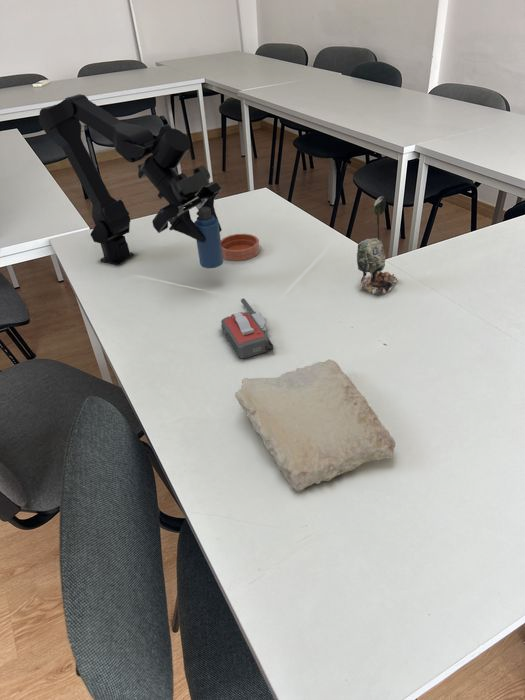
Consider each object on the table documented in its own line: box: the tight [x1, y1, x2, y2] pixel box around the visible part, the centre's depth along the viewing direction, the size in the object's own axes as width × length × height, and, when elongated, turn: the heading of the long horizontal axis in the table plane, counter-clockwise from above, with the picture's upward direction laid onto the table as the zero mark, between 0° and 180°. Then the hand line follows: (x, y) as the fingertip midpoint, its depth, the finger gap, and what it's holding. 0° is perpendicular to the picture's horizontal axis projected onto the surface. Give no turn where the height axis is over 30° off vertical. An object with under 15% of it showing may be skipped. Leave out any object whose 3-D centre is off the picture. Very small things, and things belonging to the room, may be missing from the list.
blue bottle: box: [193, 207, 224, 269], centre depth 118 cm, size 5×5×13 cm
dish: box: [221, 233, 261, 262], centre depth 137 cm, size 10×10×3 cm
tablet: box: [234, 359, 396, 491], centre depth 84 cm, size 24×8×20 cm
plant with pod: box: [356, 195, 399, 295], centre depth 114 cm, size 8×11×20 cm
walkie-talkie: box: [220, 298, 274, 359], centre depth 108 cm, size 9×4×20 cm
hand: (212, 236), depth 117 cm, fingers closed on blue bottle, 5 cm apart
